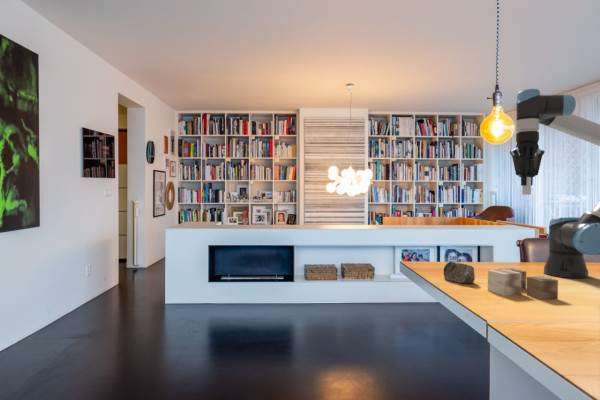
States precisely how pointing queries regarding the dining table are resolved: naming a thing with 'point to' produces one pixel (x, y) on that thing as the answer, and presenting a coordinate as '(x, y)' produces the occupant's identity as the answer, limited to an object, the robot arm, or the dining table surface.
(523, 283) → the marked block near
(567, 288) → the dining table surface
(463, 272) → the stone
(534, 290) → the marked block left
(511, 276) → the plain block
